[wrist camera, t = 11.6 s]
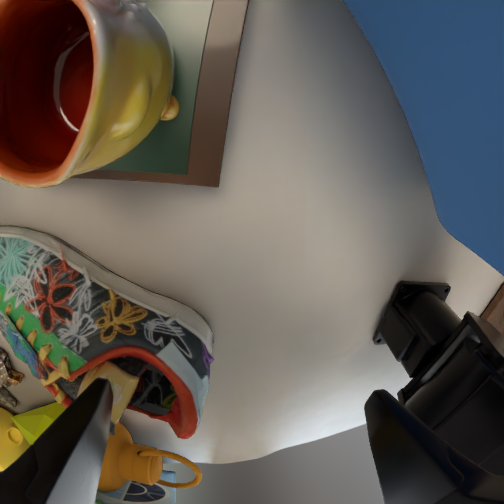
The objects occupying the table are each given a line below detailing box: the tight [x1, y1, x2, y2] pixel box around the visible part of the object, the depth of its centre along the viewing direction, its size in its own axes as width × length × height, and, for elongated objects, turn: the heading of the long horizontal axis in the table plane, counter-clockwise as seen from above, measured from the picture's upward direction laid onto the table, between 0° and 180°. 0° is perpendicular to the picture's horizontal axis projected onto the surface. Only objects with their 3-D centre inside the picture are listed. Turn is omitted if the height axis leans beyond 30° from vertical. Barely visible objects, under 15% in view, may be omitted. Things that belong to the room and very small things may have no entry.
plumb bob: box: [11, 402, 202, 493], centre depth 23 cm, size 9×9×25 cm
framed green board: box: [69, 0, 249, 187], centre depth 11 cm, size 12×14×4 cm
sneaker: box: [0, 226, 214, 439], centre depth 15 cm, size 8×21×10 cm, turn 64°
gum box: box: [0, 470, 176, 504], centre depth 22 cm, size 20×5×23 cm
